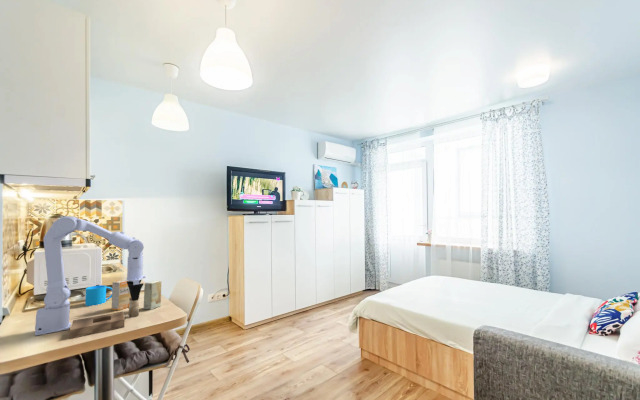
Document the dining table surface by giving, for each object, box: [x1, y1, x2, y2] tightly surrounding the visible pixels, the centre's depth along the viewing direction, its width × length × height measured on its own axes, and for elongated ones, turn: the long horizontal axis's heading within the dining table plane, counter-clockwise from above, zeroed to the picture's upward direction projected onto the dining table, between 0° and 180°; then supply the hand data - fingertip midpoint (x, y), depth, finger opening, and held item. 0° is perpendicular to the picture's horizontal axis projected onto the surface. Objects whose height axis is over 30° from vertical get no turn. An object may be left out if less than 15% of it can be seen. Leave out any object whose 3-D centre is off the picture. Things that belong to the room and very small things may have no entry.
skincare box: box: [143, 280, 162, 310], centre depth 133 cm, size 6×4×12 cm
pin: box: [128, 297, 140, 318], centre depth 122 cm, size 4×4×8 cm
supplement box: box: [111, 278, 131, 312], centre depth 134 cm, size 8×5×13 cm, turn 161°
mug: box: [84, 284, 112, 307], centre depth 143 cm, size 12×8×8 cm
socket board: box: [69, 311, 126, 339], centre depth 109 cm, size 16×12×3 cm
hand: (134, 298), depth 122 cm, fingers open, 7 cm apart
